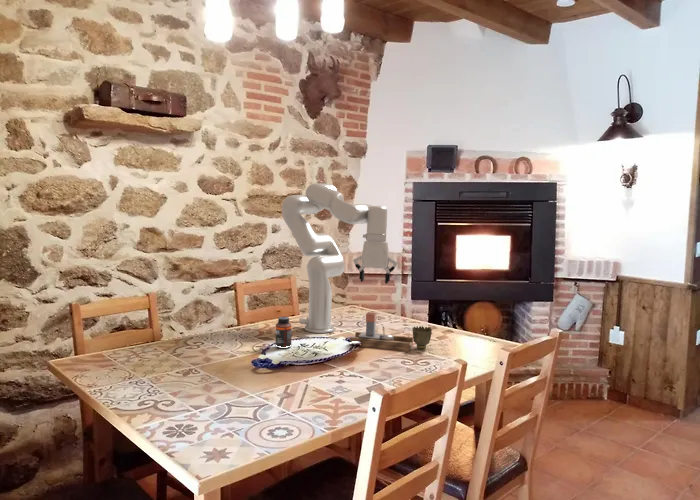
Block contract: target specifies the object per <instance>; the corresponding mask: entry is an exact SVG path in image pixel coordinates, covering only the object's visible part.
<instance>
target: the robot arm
mask: <svg viewBox="0 0 700 500" xmlns="http://www.w3.org/2000/svg"><path fill="white" fill-rule="evenodd" d="M344 200H345V199H344V195H343V194H342V193H341V192H340V191H338V189H337V188H336V186H334V185H333V184H331V183H319V182H316V183H311V184H309V185H308V186H307V187H306V189H305V194H292V195H288V196H286V197H285V198H284V200H283V201H282V203H281V215H282V218H283V221H284V223H285V224H286V226H287V227H288V229H289V230H290V231H291V233H292V236H293V237H294V240H295V242H296V244H297V246H298V248H299V249H300V251H301V253H302V254H303V255H304V256H305V257H311V258H310V259H309V260H308V262H307V265H306V270H307V277H308V317H307V318H305V317H304V318H303V317H300V318H299V320H298V322H299V323H300V324H301V325H302V324H303V325H304V330H305V331H306V332H308V333H315V334H326V333H331V332H334V331H335V326H334V325H333V324H332V293H333V291H332V289H333V288H332V285H331V282H330V279H329V278H333V277H337V276H340V275H342V274H343V273H344V272H345V269H346V263H345V260H344V258H343V255H342V254H341V252H340V249H339V248H338V246H337V244H336V243H335V241H334V239H333V238H332V237H331V236H330V235H328V234H327V233H316V232H315V231H314V230H313V227H312V225H311V224H310V223H309V222H308V221H307V219H306V218H304V217H303V215H315V214H317V213H319V212H321V211H323V210H324V209H325V210H327V211H329V212H330V214H331V215H332V216H333V217H334V218H335V219H337V220H339V221H341V222H343V223H346V224H349V225H357V224H361V225H362V224H363V225H365V224H366V233H365V234H364V233H363V234H362V238H363V239H365V240H363V241H364V242H363V245H362V252H361V255H360V256H358V257H355V258H354V259H353V260H352V262H353V264H354V266H355V268H356V269H357V270H358V271H359V277H358V279H359V280H360V282H361V283H363V282H364V281H365V270H364V269H365V268H370V269H380V270H381V269H384V270H385V272H386V273H385V274H384V275H385V276H384V278H385V279H384V284H385V285H388V284H389V282H390V281H391V273H392V271H394V270H395V269H396V267H397V265H398V264H399V263H398V261H397V260H395V259H393V258H391V257H390V255H389V254H390V253H389V251H390V250H389V243H388V241H387V227H388V226H387V225H388V207H386V206H384V205H372V204H364V203H363V204H359V203H358V204H357V203H354V204H352V203H349V202H346V201H344ZM359 261H361V262H360V263H361V265H360V264H359ZM390 263H391V264H392V265H391V267H390V265H389V264H390Z"/></svg>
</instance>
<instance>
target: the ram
mask: <svg viewBox="0 0 700 500" xmlns="http://www.w3.org/2000/svg"><path fill="white" fill-rule="evenodd" d="M365 322H366V324H365V325H366V326H365V329H366V330H365V331H362V333H361V334H360V335H359V338H364V339H374V340H385V341H394V336H395V335H393V336H390V335H391V334H383V333H377V332H376V322H377V312H370V311H368V312H367V313H366V314H365ZM382 334H383V335H382Z"/></svg>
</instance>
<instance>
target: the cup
mask: <svg viewBox="0 0 700 500" xmlns="http://www.w3.org/2000/svg"><path fill="white" fill-rule="evenodd" d="M411 329H412V337H413V343H414V344H415V345H416V349H418V350H426V348H427V345H428V344H430V342H431V338H432V332H433V329H432V328H431V326H425V327H424V326H421V325H420V326H413V327H412V328H411Z"/></svg>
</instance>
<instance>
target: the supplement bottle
mask: <svg viewBox="0 0 700 500" xmlns="http://www.w3.org/2000/svg"><path fill="white" fill-rule="evenodd" d="M277 321H278V322H277V323H276V324H275V346H276V345H277V346H281V347H286V346H290V345H291V346H292V335H293V334H292V329H293V328H292V323H290V317H288V316H279V317H278V320H277Z"/></svg>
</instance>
